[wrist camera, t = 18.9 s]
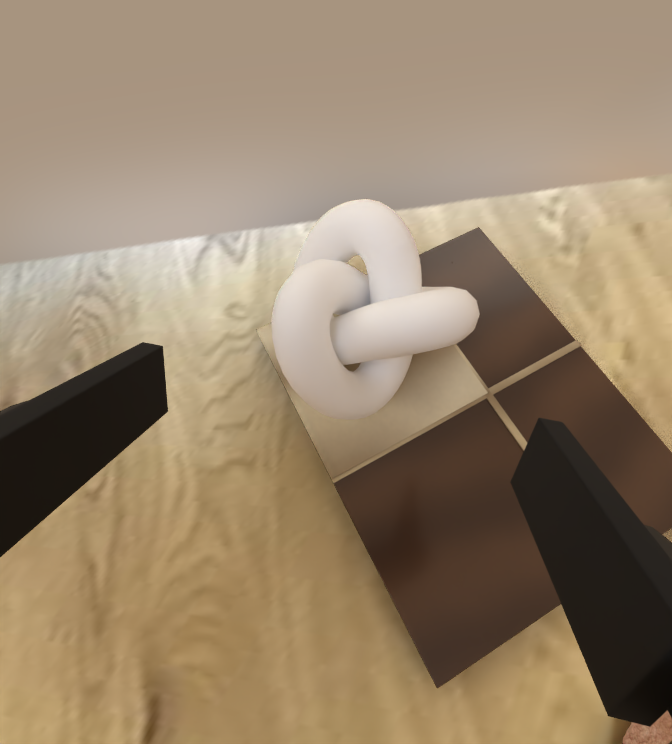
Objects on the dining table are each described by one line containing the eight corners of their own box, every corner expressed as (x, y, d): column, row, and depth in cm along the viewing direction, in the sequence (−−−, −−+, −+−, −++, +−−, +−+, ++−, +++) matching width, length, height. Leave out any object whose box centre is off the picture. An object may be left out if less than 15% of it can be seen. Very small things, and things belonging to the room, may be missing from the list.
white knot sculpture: (398, 468, 23) (431, 446, 14) (240, 383, 25) (189, 320, 16) (464, 327, 26) (522, 242, 18) (321, 263, 28) (312, 160, 20)
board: (260, 339, 28) (255, 329, 26) (472, 239, 31) (479, 224, 29) (431, 676, 20) (438, 691, 19) (690, 500, 23) (716, 500, 22)
